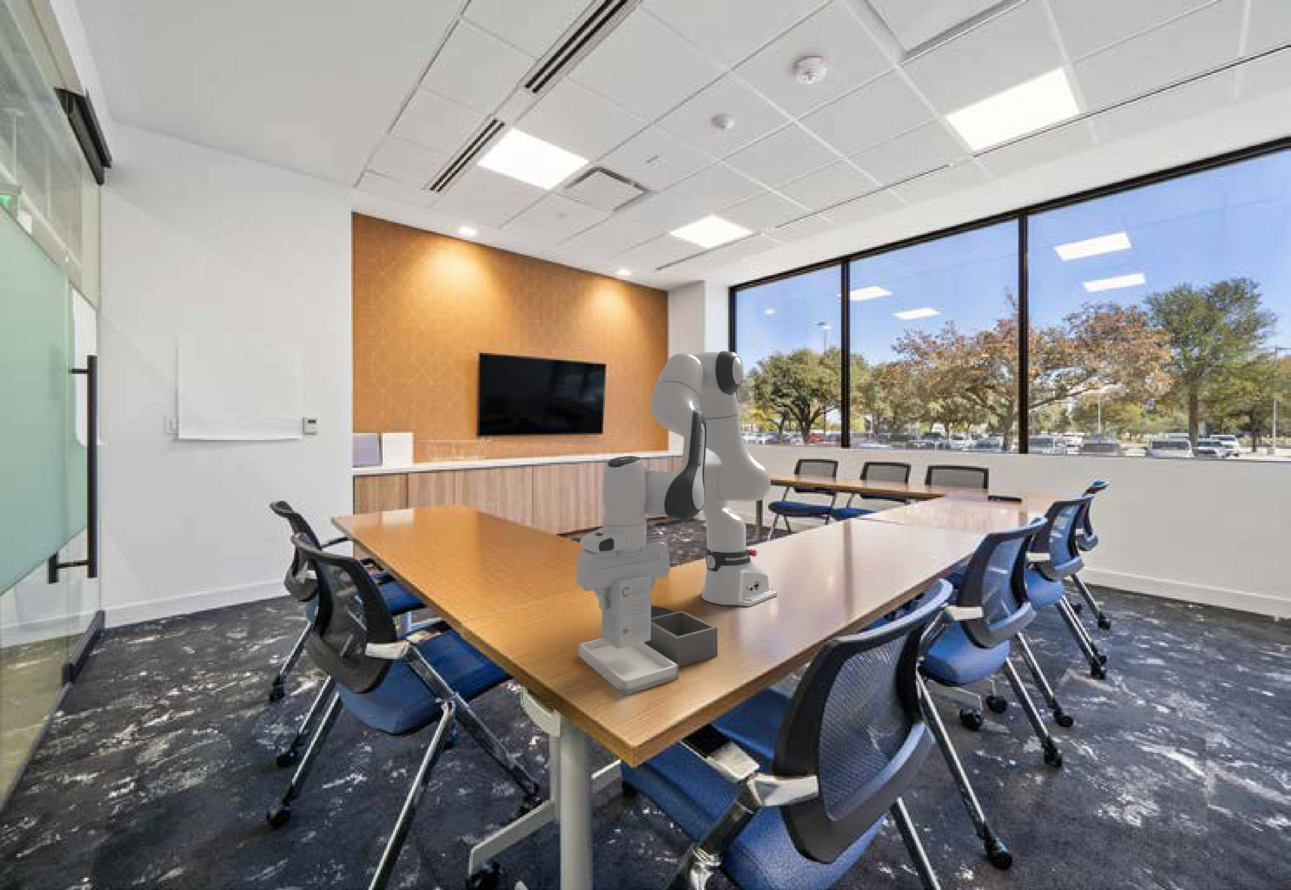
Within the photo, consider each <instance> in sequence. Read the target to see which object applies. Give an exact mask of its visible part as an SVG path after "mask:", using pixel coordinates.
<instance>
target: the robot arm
mask: <svg viewBox="0 0 1291 890" xmlns="http://www.w3.org/2000/svg"><path fill="white" fill-rule="evenodd" d="M743 379H744V365H743V362H742V360H741V357H740V356H739V355H738V354H737V353H736V352H733V351H728V350H727V351H725V350H722V351H716V352H715V351H710V352H709V351H708V352H707V351H705V352H698V353H695V354H694V353H693V354H690V353H686V352H680V353H679V352H678V353H676V354H673V355H671V357H669V358H668V360H667V361H666V362H665V363H664V364H663V366H662V368H661V372H660V374H659V375H658V378H657V381H656V384H655V387H654V388H653V393H652V395H651V397H650V398H651V399H650V413H651V415H652V417H653V419H654V420H655V421H656V422H657V423H658V424H659V425H660V426H661V427H663V428H664V429H665V430H666V431H668V432H671V433H674V434H676V435H679V436H681V437H683V447H682V454H681V455H682V457H681V466H680V468H678V469H676V470H675V471H661V470H660V471H659V470H658V471H657V470H651V469H649V468H647V467H645V466H644V461H643V459H642V458H641V457H640V456H639V457H638V456H635V455H625V456H624V455H623V456H618V457H615V458H612V459H610V460H608V461H607V462H606V464H605V467H604V472H603V477H602V478H603V480H602V504H603V507H604V515H603V518H602V527H600V528H598V529H596V530H594V531H593V532H590V533H588V534H585V535H583V536H582V537H581V538H580V540H579V544H580V547H581V549H582V550H581V551H580V552H579V554H578V557H577V563H576V579H575V580H576V585H577V586H578V587H579V588H580V589H582V590H584V591H585V592H590V591H591V592H592V591H593V593H594V594H595V596H596V598H597V600H598V608H599V610H601V611H602V610H606V609H609V608H610V606H609V604H610V601H609V600H607V599H606V598H604V597H603V595H602V593H605V588H607V587H612V586H613V581H614V580H619V579H625V578H631V577H638V576H645V575H648V576H650V577H651V592H653V590H654V587H655V585H656V579H661V578H666V577H668V575H669V574H670V571H671V565H670V555H669V550H668V545H669V543H668V541H669V540H668V537H667V536H666V535H665V534H664V533H662V532H655V533H647V518H646V516H651V517H660V518H661V517H662V518H663V517H664V518H669V519H674V520H679V521H684V522H686V521H687V522H688V521H690V520H692V519H693V518H694V517H696V516H697V515H698V514H699V513H700V512H701V511H702V514H703V517H704V519H705V525H706V526H705V527H706V548H705V563H706V570H705V571H706V572H705V579H704V584H703V585H704V586H703V590H702V593H701V598H702V599H703V600H704V601H706V602H708V603H712V604H717V605H723V606H739V607H741V606H742V607H751V606H754V605H756V604H759V603H761V602H764V601H766V600H769V599H771V598H774V597H776V596H778V591H777V590H776V589H775V588H773V587H771V586H770V581H769V576H768V574H767V573H766V572H765V570H763V569H762V568H760V567H759V566H758V565H757V564H755V563H754V561H752V559H751V557H754V558H755V557H757V555H758V550H757V549H753V548H749V549H748V548H747V533H746V532H747V525H746V522H745V520H744V519H743V517H742V516H740V515H739V514H737V513H736V512H734V510H732V508H731V507H730V504H729V501H730V502H740V503H751V502H756V501H757V502H758V501H763V500H764V499H765V498H766V497H767V495H768V494H769V492H770V490H771V484H772V483H771V476H770V474H769V472H768V470H767V469H766V468H765V467H764V466H763V465H762V464H760V463H759V462H757V460H756V459H754V457H753V456H752V455H751V453H750V452H749V450H748V448H747V446H746V445H745V442H744V439H743V434H742V427H741V421H740V420H741V419H740V411H739V410H740V409H739V401H738V399H737V398H738V397H737V394H736V391H738V389H739V388H740V387H741V385H742V383H743ZM706 449H707V450H709V451H710V452H712V453H714V454H715V455H716V456H717V457H718V458H719V460H720V461H706V454H707V453H706Z"/></svg>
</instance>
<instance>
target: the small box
mask: <svg viewBox="0 0 1291 890" xmlns="http://www.w3.org/2000/svg"><path fill="white" fill-rule="evenodd" d="M602 595H603V597H604V598H606V599H607V600H609V601H610V604H609V606H610V608H609V609H606V610H601V638H602V640H604V641H605V642H607V643H609V644H610V645H612V646H614V647H616V648H617V649H621V648H624V647H628V646H631V645H635V644H639V643H642V642H643V643H644V642H646V641H649V640H651V605H652V591H651V577H650V576H648V575H645V576H638V577H631V578H625V579H619V580H614V581H613V586H612V587H607V588H605V593H602Z"/></svg>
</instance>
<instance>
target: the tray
mask: <svg viewBox="0 0 1291 890" xmlns="http://www.w3.org/2000/svg"><path fill="white" fill-rule="evenodd" d="M578 656H579V658H581V659H582V660H583V661H584V662H585V663H587V665H589V666H590V667H591V668H592V669H593V670H594V671H596V672H597V673H598V674H599V675H600V676H601V677H603V678H604V679H605V680H606V681H607V682H609V683H610V684H611V685H612V686H613V687H614V688H615V689H616V690H618V691H619V692H620V693H621V694H622V695H623V696H628V695H631V694H635V693H637V692H641V691H644V690H647V689H650V688H653V687H656V686H659V685H662V684H665V683H668V682H672V681H674V680H678V679H680V671H679V670H680V667H679V665H677V664H676V663H674V662H673V661H671V660H669V659H668V658H666V657H665V656H663V655H662V654H660V653H659V652H657V651H656V650H654V649H652V648H651V647H649V646H648V645H646V644H645V643H644V642H642V643H639V644H635V645H631V646H628V647H624V648H621V649H617V648H616V647H614V646H612V645H610V644H609V643H607V642H605V641H604V640H602V637H601V638H598V639H593V640H590V641H585V642H581V643H578Z"/></svg>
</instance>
